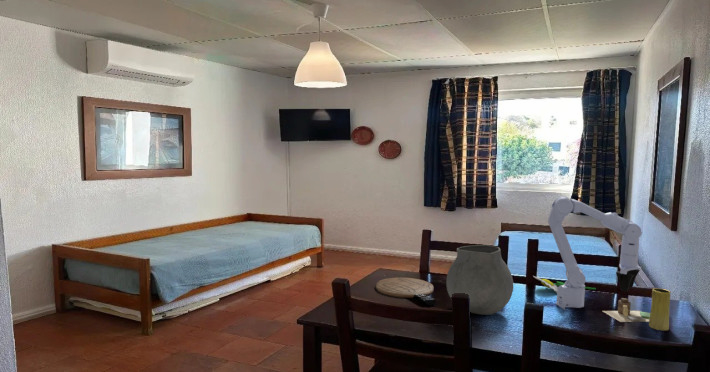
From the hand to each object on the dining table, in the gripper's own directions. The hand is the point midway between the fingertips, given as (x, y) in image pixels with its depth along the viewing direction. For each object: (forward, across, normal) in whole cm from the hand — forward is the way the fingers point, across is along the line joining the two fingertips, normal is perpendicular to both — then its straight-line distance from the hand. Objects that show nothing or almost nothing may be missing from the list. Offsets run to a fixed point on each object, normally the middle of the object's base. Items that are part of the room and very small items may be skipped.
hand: (626, 289), depth 178 cm
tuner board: (+10, -5, -3) cm, 11 cm away
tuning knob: (+8, -6, -1) cm, 10 cm away
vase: (+10, -10, -13) cm, 19 cm away
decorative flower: (+10, +15, +27) cm, 32 cm away
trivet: (+11, -36, +78) cm, 86 cm away
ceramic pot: (+10, -39, +41) cm, 57 cm away
